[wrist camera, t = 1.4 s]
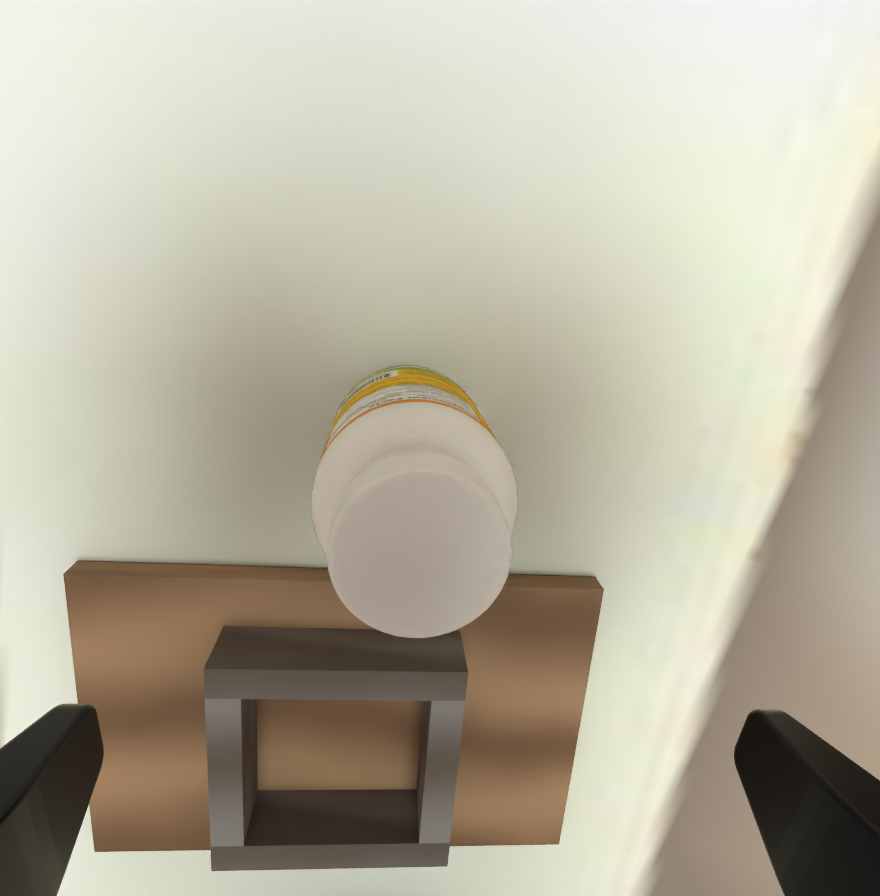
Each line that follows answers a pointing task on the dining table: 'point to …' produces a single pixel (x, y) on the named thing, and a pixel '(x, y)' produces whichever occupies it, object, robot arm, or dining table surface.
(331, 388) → the dining table surface
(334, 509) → the supplement bottle
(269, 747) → the can holder
